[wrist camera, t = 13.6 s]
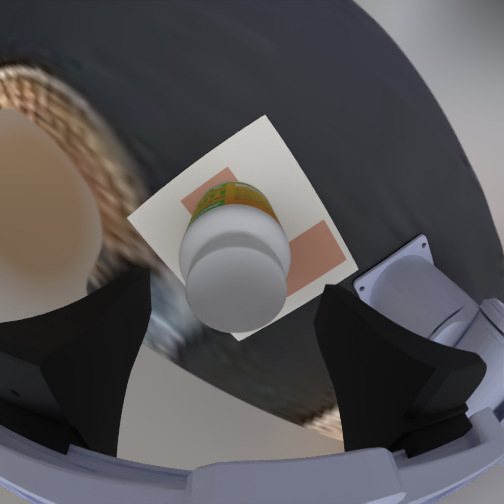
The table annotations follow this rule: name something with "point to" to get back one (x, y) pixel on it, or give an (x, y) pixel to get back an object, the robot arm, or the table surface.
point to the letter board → (278, 194)
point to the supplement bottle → (235, 259)
